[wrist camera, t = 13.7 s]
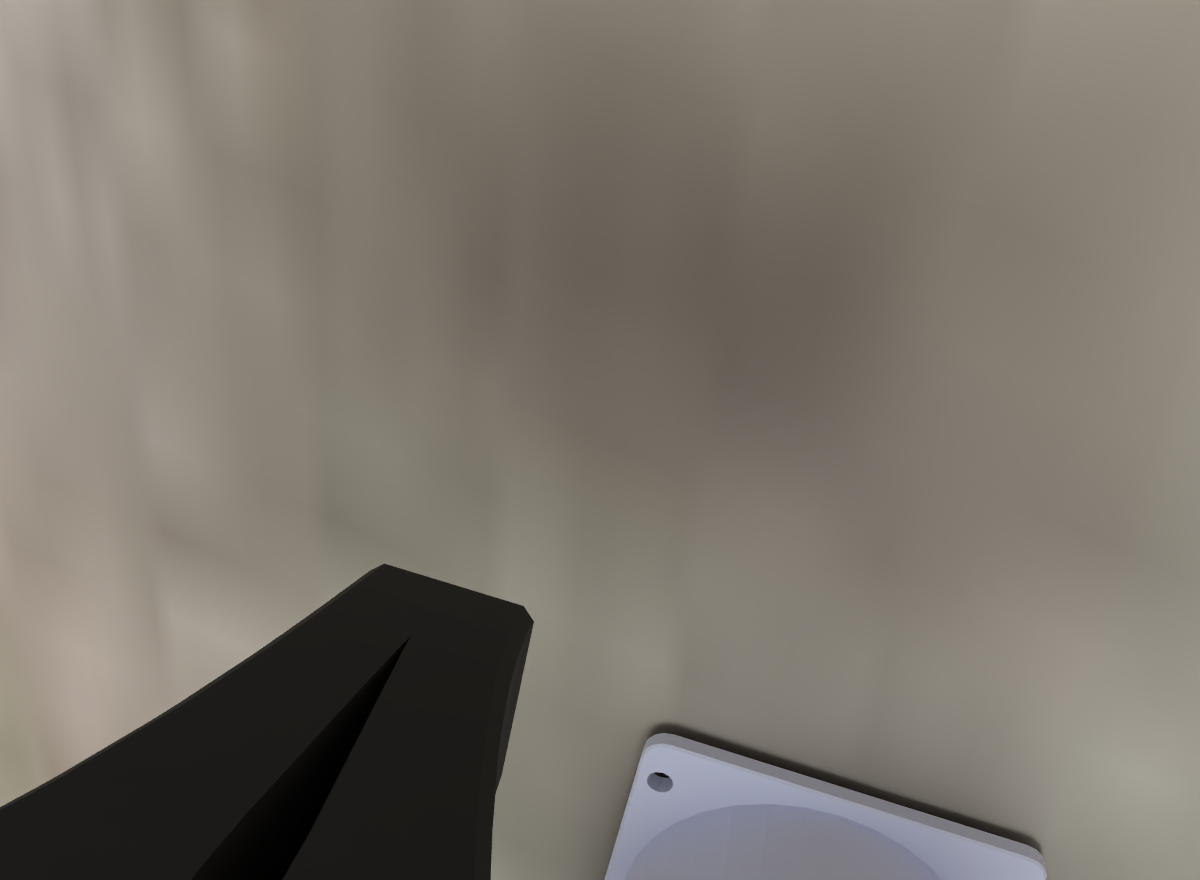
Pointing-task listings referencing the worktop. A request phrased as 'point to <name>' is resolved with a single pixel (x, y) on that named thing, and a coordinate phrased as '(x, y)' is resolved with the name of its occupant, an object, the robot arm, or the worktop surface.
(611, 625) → the worktop surface
